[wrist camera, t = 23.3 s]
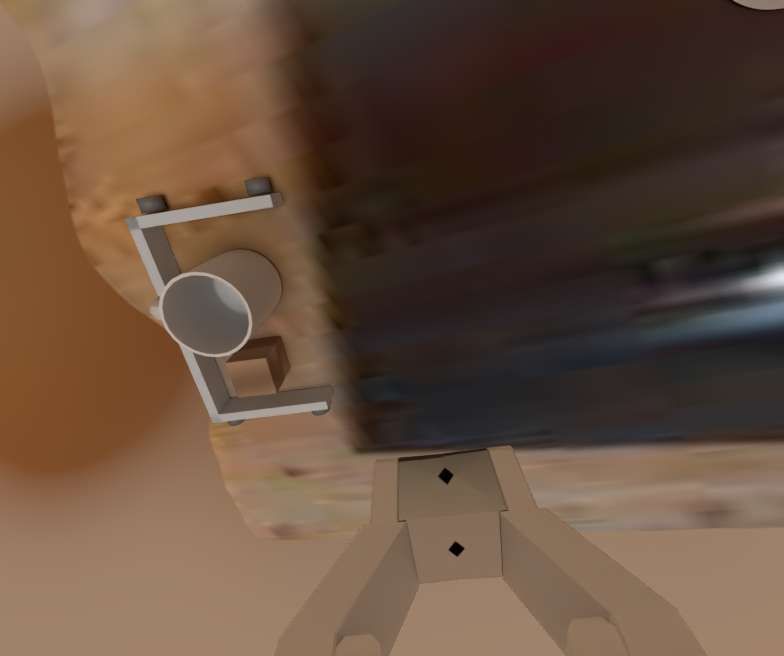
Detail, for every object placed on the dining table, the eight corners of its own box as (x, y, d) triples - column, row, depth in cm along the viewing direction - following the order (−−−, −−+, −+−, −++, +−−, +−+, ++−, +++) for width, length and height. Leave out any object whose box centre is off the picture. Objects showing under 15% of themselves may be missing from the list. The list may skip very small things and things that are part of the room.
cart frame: (140, 198, 34) (117, 201, 31) (276, 175, 33) (265, 176, 30) (228, 416, 43) (217, 433, 41) (335, 403, 43) (330, 419, 40)
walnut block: (245, 340, 39) (225, 363, 35) (280, 335, 39) (265, 358, 35) (256, 371, 41) (238, 397, 36) (290, 367, 41) (276, 393, 36)
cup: (289, 314, 38) (260, 354, 30) (195, 319, 38) (141, 360, 30) (276, 245, 35) (241, 268, 27) (174, 251, 36) (109, 276, 27)
